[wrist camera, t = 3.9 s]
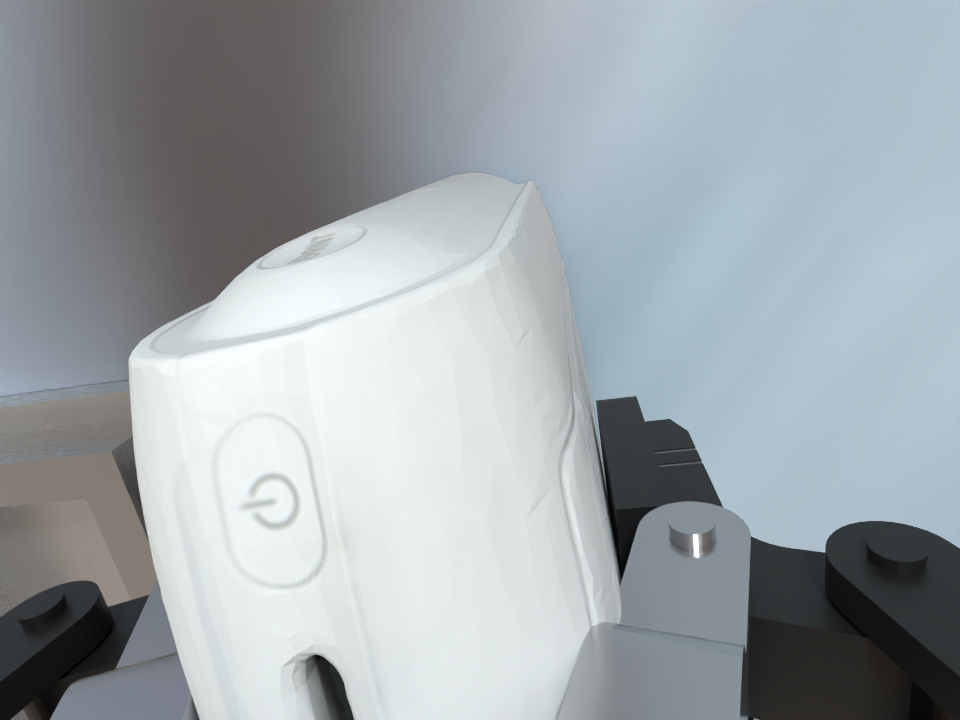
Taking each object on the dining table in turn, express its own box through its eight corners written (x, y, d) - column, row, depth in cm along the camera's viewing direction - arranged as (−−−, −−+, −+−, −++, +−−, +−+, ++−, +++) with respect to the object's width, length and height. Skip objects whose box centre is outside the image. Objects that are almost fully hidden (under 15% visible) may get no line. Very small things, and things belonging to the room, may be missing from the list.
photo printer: (369, 190, 15) (-211, 398, 4) (543, 146, 14) (529, 228, 3) (471, 539, 18) (343, 1239, 7) (617, 519, 18) (752, 1265, 6)
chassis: (-171, 419, 19) (-293, 469, 16) (280, 360, 17) (227, 406, 14) (38, 782, 24) (-28, 866, 22) (402, 774, 22) (381, 868, 19)
